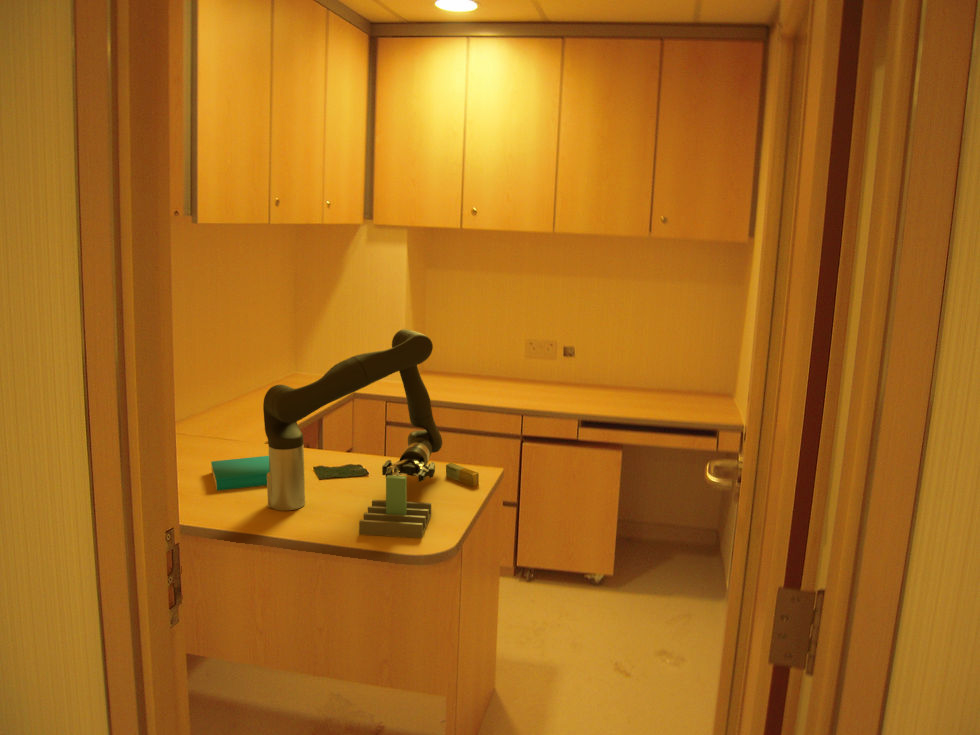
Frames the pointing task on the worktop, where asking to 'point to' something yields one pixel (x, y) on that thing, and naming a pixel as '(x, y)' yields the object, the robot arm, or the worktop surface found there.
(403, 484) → the card
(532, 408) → the worktop surface
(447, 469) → the medication box
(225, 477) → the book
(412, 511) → the rack
